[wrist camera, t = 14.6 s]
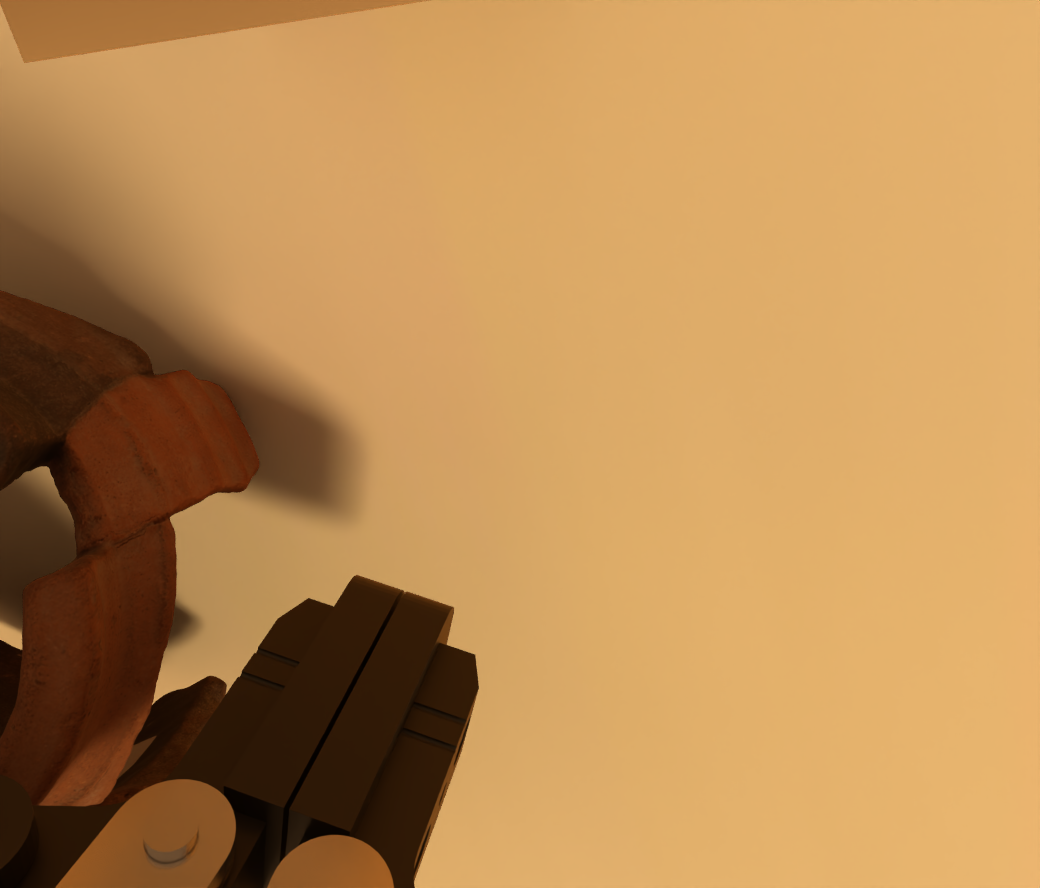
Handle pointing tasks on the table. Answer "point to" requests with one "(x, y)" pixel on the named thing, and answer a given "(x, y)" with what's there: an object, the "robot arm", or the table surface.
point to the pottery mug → (104, 554)
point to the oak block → (151, 20)
